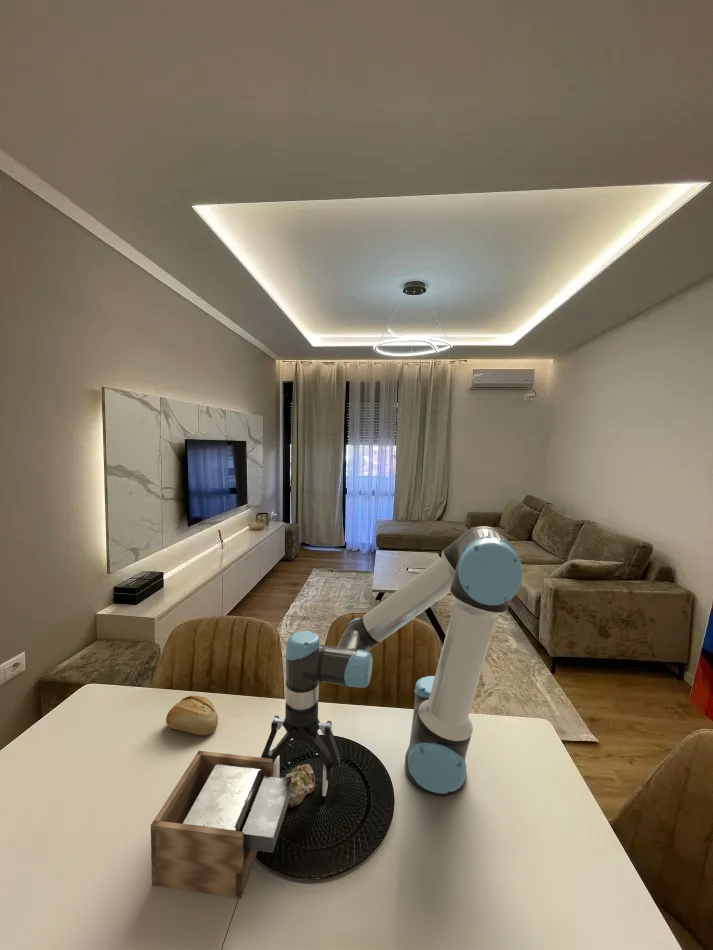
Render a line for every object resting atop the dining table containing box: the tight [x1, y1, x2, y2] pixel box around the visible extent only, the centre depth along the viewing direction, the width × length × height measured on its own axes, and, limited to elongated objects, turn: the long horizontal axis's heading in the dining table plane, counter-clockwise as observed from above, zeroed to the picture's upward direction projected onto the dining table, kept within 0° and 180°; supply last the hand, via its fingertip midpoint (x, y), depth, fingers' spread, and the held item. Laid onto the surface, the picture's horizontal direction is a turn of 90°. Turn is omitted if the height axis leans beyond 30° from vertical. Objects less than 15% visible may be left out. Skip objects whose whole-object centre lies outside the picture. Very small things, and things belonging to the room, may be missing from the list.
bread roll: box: [165, 695, 219, 737], centre depth 117 cm, size 10×15×8 cm, turn 80°
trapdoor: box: [183, 764, 292, 853], centre depth 83 cm, size 17×14×4 cm
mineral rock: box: [283, 763, 316, 808], centre depth 98 cm, size 11×4×8 cm
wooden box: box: [150, 750, 273, 899], centre depth 84 cm, size 17×18×12 cm
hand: (300, 788), depth 98 cm, fingers open, 11 cm apart
